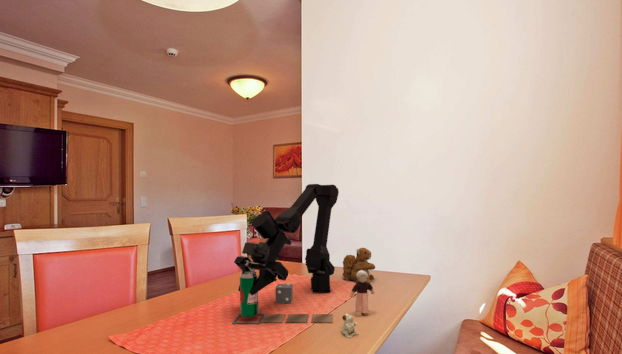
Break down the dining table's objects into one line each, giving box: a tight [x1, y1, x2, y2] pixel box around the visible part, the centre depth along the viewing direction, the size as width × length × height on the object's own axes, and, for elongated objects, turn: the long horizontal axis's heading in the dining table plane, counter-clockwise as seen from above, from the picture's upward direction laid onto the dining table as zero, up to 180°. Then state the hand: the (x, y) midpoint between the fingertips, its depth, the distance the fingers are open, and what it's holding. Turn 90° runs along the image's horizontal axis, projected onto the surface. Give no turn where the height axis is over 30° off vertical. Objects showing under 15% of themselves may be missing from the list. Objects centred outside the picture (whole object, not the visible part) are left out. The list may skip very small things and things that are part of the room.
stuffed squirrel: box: [342, 247, 376, 285], centre depth 137 cm, size 10×14×13 cm
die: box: [275, 283, 294, 305], centre depth 111 cm, size 5×5×5 cm
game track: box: [231, 312, 334, 325], centre depth 95 cm, size 28×8×1 cm, turn 87°
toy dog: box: [339, 313, 359, 339], centre depth 84 cm, size 4×5×5 cm
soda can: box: [239, 270, 259, 318], centre depth 96 cm, size 5×5×12 cm
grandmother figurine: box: [349, 270, 375, 317], centre depth 98 cm, size 8×4×13 cm, turn 117°
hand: (245, 292), depth 95 cm, fingers closed on soda can, 5 cm apart
